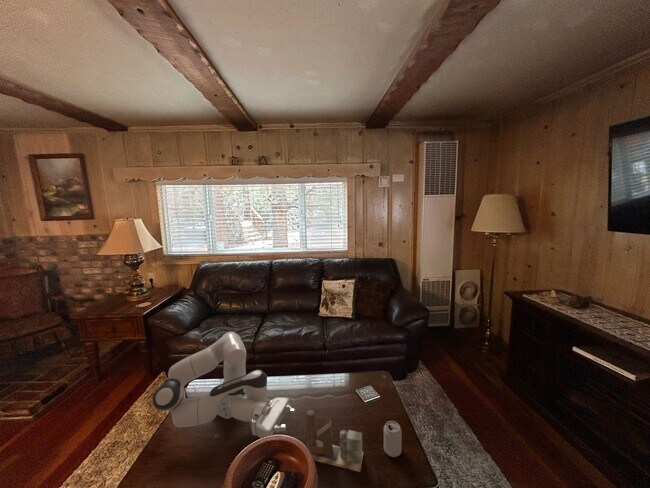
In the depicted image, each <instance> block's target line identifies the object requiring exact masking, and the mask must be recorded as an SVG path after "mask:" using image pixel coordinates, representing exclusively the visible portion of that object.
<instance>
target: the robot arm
mask: <svg viewBox="0 0 650 488" xmlns="http://www.w3.org/2000/svg"><path fill="white" fill-rule="evenodd" d="M221 362H223V382H222V383H220V384H218V385H217V386H214V387H213V388H212V389H211V390H210V392H208V393H206V394H205V395H204V396H203V395H202V396H200V397H195V398H188V394H187V391H186V389H185V386H186V385H187V384H188V383H189V382H191V381H192V380H195V379H197V378H199V377H202V376H203V375H206V374H207V373H210V372H211V371H213V370H214V369H216V368H217V366H218V365H219V364H220V363H221ZM246 362H247V349H246V347H245V345H244V342H243V341H242V338H241V336H240V335H239V334H238V333H236V332H234V331H228V332H225V333H224V334H222V336H221V337H220V338H219V339H218V340H216V341H215V342H214V343H212V344H211V345H210V346H208V347H206V348H204V349H201V350H200V351H198V352H195V353H193V354H190V355H189V356H187V357H185V358H183V359H181V360H179V361H177V362H176V363H174V364H173V365H171V367H170V368H169V369H168V374H167V375H168V377H167V379H165V381H163V383H162V384H161V385H159V387H158V388H156V390H155V391H154V393H153V395H152V405H153V407H154V408H155V409H156V410H158V411H160V412H161V411H163V412H170V413H171V414H172V416H171V417H172V422H173V425H174V426H175V427H176V428H187V427H193V426H199V425H203V424H207V423H209V422H212V421H213V420H214V419H215V418H217V416H219V417H221V418H224V419H225V420H229V419H231V418H234V419H235V420H238V421H240V422H241V421H242V422H250V424H251V426H250V428H251V434H252V436H257V437H258V438H260V439H263V438H264V437H267V436H271V435H272V436H273V435H274V434H275V433H279V432H285V431H286V430H287V425H286V424H284V423H283V424H281V425H280V423H281V421H282V419H283V418H284V416H285V415H286V413H287V412H290V415H295V413H296V409H295V408H293V407H291V406H292V405H290V403H291V402H290V399H289V398H288V397H283V396H282V397H281V396H277V397H274V398H272V399H271V400H270V402H268V375H267V374H266V373H265V372H264V371H263V370H261V369H256V370H252V371H250V372H249V373H247V372H246V371H247V370H246ZM246 373H247V374H246Z"/></svg>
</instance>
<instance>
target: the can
mask: <svg viewBox="0 0 650 488" xmlns="http://www.w3.org/2000/svg"><path fill="white" fill-rule="evenodd" d="M402 432H403V430H402V427H401V426H400V424H399V423H398V422H397V421H394V420H389V421H387V422H386V423H385V425H384V426H383V450H384V452H385V454H387V455H388V456H389V457H392V458H396V457H398V456H400V455H401V454H402V445H403V444H402V443H403V442H402V441H403V437H402V436H403V433H402Z"/></svg>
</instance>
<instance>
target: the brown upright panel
mask: <svg viewBox="0 0 650 488" xmlns="http://www.w3.org/2000/svg"><path fill="white" fill-rule="evenodd" d="M306 429H307V430H306V431H307V433H306V434H307V435H306V436H307V444H306V449H307V448H308V449H309V450H310V452H311V453H312V454H319V455H325V456H332V450H333V445H334V443H333V420H330V421H329V422H328V423H326V424H325V425H324V426H322V427H321V428H320V429H319V430H318V431H317V429H316V412H315V410H313V409H309V410H308V411H307V412H306ZM322 442H323V443H322Z"/></svg>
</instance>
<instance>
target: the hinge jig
mask: <svg viewBox="0 0 650 488" xmlns="http://www.w3.org/2000/svg"><path fill="white" fill-rule="evenodd" d="M321 442H322V443H323V441H321ZM312 455H313V457H314V460H313V461H315V462H319V463H322V464H328V465H331V466H335V467H339V468H343V469H347V470H351V471H354V472H359V473H361V470H362V464H363V459H364V458H363V457H364V451H363V432H359V431H356V430H351V429H348V431H347V430H345V429H342V430H340V431H339V445H335V444H333V450H332V456H325V455H319V454H312Z"/></svg>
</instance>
